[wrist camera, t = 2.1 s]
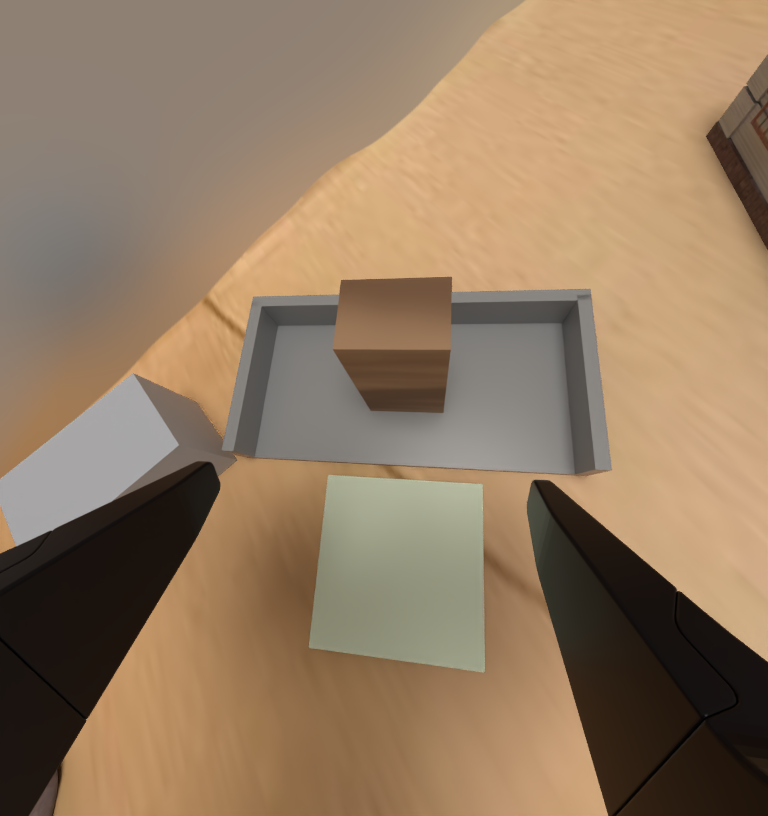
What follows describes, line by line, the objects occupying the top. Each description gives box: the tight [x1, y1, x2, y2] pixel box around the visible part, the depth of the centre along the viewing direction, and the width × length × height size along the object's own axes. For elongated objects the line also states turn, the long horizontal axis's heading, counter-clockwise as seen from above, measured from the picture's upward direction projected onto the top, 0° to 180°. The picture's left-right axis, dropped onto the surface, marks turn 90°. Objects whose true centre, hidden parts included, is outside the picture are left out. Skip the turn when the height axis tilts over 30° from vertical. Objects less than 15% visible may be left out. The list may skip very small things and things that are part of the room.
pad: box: [309, 475, 485, 673], centre depth 21 cm, size 10×10×1 cm
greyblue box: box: [0, 373, 237, 546], centre depth 22 cm, size 10×6×6 cm, turn 131°
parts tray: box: [222, 289, 612, 476], centre depth 23 cm, size 11×23×3 cm, turn 86°
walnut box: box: [333, 277, 452, 413], centre depth 19 cm, size 4×5×10 cm
